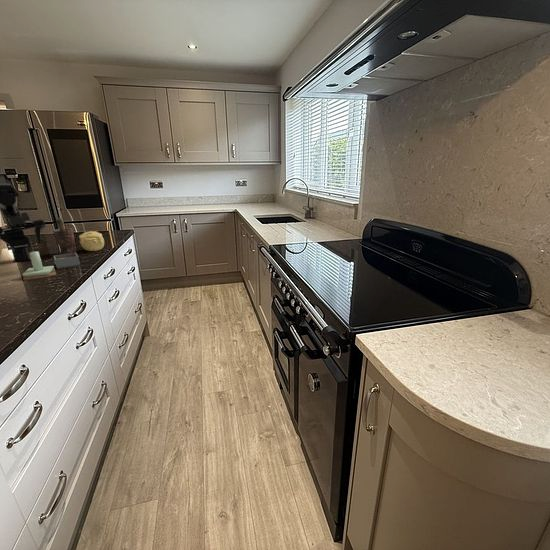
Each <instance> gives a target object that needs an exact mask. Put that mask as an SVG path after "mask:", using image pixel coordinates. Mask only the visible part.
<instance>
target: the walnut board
mask: <svg viewBox="0 0 550 550" xmlns="http://www.w3.org/2000/svg"><path fill="white" fill-rule="evenodd" d="M54 276H57V272H56V269H55V267H54V268H53V269H52V271H51V272H50V273H49V274H48V275H40V276H31V277H27V276H23V275H22V277H23V282H24V281H30V280H31V281H32V280H38V279H43V278H49V277H54Z"/></svg>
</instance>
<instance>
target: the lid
mask: <svg viewBox="0 0 550 550" xmlns="http://www.w3.org/2000/svg"><path fill="white" fill-rule="evenodd" d="M28 255H29V257H30V261H31V265H32V267H29V268H28V269H27V270H25V271H24V272H23V273H22V277H23V276H27V277H31V276H40V275H48V274H49V273H50V272H51V271H52V269H53V268H54V269H55V266H54V265H48V266H43V263H42V260H41V256H40V251H39V250H38V251H30V252H28Z"/></svg>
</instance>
